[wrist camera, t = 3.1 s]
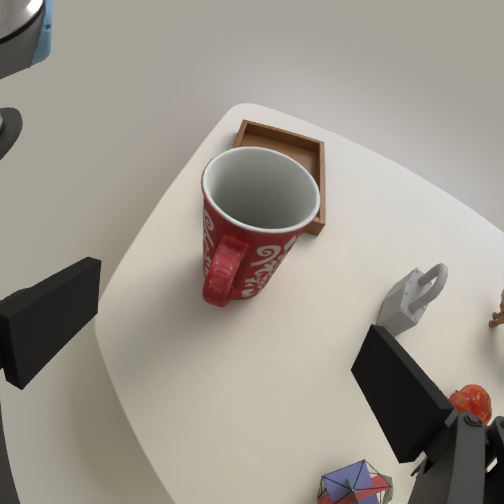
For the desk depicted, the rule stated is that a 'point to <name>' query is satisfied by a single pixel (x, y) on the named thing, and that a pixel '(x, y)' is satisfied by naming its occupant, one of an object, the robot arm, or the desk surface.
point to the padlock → (411, 299)
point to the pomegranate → (473, 402)
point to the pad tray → (294, 147)
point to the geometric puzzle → (355, 486)
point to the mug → (251, 219)
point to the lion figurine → (502, 316)
